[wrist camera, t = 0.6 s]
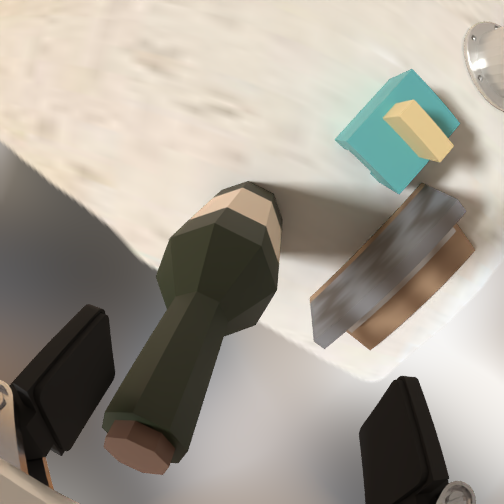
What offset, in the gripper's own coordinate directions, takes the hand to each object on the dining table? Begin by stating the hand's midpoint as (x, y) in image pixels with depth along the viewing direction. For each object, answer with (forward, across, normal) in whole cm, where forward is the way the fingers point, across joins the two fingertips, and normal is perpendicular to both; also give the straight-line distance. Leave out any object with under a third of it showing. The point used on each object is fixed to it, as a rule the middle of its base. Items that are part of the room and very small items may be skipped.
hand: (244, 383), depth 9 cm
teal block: (+28, -10, -10) cm, 32 cm away
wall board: (+28, -16, +6) cm, 33 cm away
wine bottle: (+28, +3, +4) cm, 28 cm away
